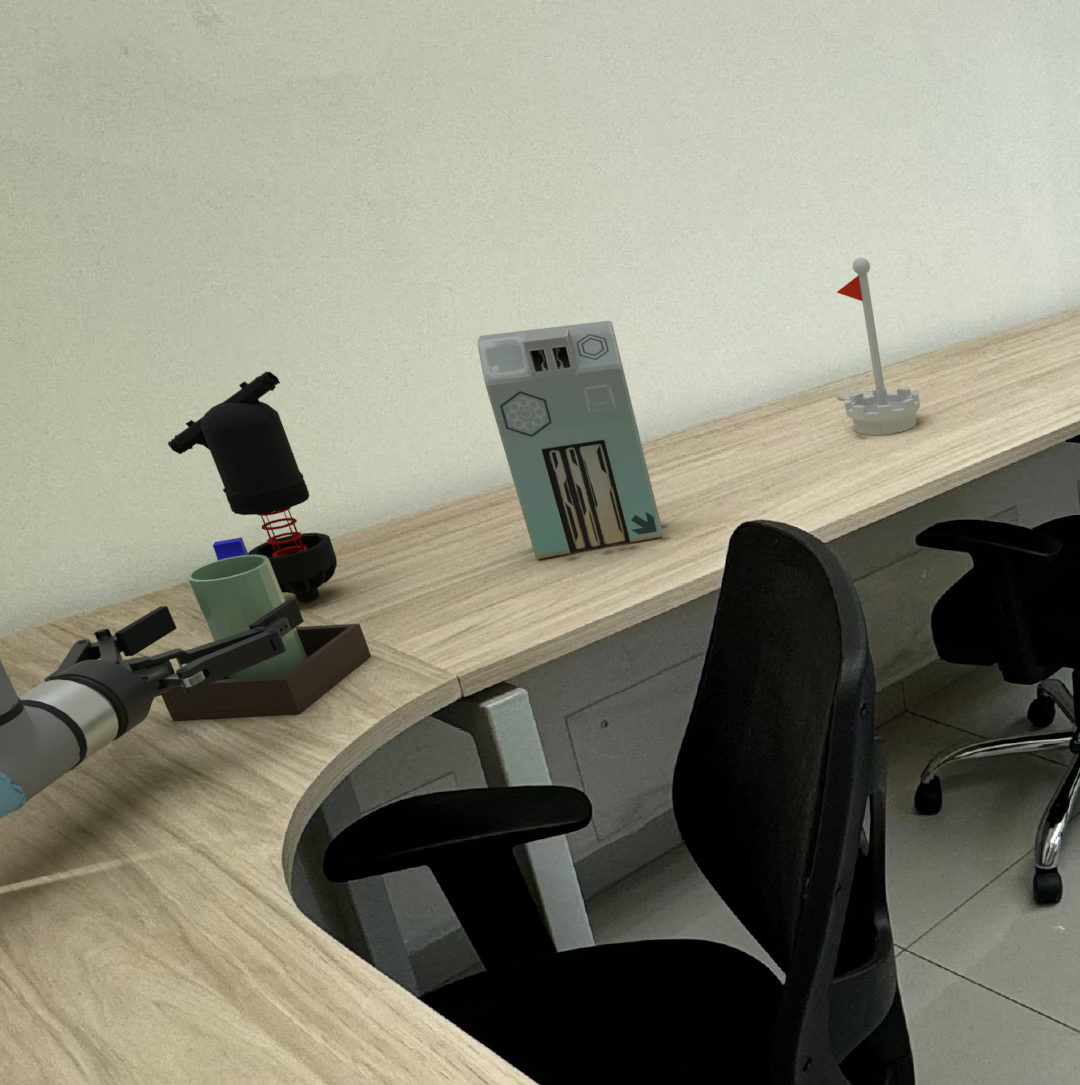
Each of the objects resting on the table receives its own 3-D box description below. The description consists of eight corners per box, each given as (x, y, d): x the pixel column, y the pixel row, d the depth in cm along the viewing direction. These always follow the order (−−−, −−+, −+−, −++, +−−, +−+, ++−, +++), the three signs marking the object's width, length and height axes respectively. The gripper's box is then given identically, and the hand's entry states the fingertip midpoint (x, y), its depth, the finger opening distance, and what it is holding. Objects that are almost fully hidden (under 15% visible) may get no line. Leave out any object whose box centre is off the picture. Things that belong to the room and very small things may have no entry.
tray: (172, 721, 134) (156, 686, 132) (254, 662, 146) (241, 629, 144) (299, 714, 134) (285, 679, 132) (371, 655, 146) (359, 623, 145)
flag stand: (901, 411, 233) (877, 248, 220) (935, 425, 224) (912, 256, 211) (836, 426, 226) (808, 258, 213) (869, 441, 216) (840, 267, 204)
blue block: (256, 606, 161) (239, 564, 158) (214, 614, 159) (196, 572, 157) (270, 575, 171) (254, 535, 168) (231, 582, 169) (214, 541, 166)
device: (536, 561, 171) (474, 347, 159) (538, 543, 178) (478, 336, 165) (663, 538, 178) (612, 330, 165) (660, 521, 184) (611, 320, 171)
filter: (366, 578, 168) (288, 361, 156) (346, 605, 160) (262, 378, 148) (250, 595, 165) (161, 374, 152) (225, 623, 157) (128, 392, 144)
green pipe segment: (219, 698, 136) (170, 583, 130) (262, 667, 143) (216, 556, 137) (286, 694, 136) (239, 579, 131) (325, 664, 143) (282, 553, 137)
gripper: (-40, 754, 116) (129, 651, 135) (230, 739, 117) (360, 638, 136) (-78, 684, 113) (100, 589, 132) (200, 669, 114) (337, 576, 133)
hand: (232, 613), depth 134 cm, fingers open, 13 cm apart
